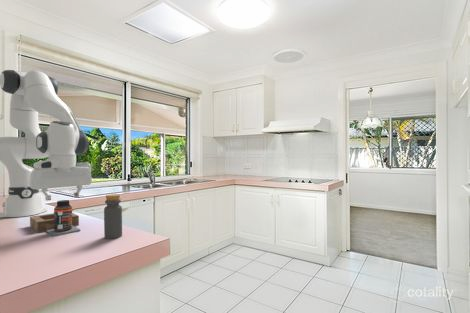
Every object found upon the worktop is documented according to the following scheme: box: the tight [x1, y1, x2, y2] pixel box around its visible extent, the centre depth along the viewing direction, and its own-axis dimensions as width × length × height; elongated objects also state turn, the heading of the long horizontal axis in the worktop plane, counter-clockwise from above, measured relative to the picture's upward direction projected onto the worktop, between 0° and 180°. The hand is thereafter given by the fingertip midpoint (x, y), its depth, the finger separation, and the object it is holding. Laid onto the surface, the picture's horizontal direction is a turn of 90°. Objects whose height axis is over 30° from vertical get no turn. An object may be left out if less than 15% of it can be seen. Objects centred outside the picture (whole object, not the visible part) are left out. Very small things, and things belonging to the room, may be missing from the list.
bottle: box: [103, 193, 123, 240], centre depth 95 cm, size 6×6×15 cm
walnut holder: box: [29, 212, 80, 234], centre depth 110 cm, size 14×14×4 cm
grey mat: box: [46, 226, 81, 237], centre depth 102 cm, size 9×9×1 cm
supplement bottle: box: [53, 199, 73, 232], centre depth 102 cm, size 6×6×11 cm
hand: (62, 198), depth 102 cm, fingers open, 8 cm apart
